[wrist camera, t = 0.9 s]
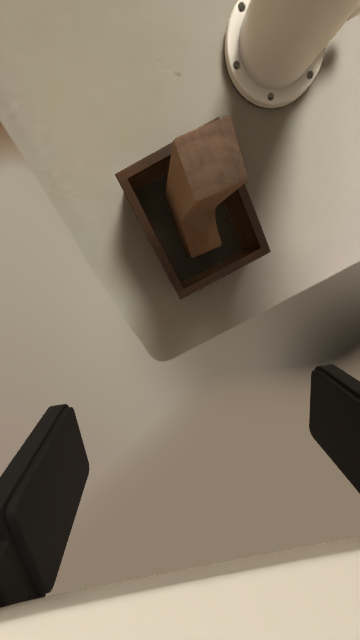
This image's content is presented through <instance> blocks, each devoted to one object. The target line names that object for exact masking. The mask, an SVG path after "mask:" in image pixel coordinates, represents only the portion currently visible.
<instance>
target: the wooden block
mask: <svg viewBox="0 0 360 640" xmlns="http://www.w3.org/2000/svg"><path fill="white" fill-rule="evenodd" d="M247 180H248V174H247V171H246V167H245V164H244V160H243V157H242V154H241V150H240V147H239V143H238V140H237V136H236V133H235V129H234V126H233V122H232V119H231V118H230V116H226V117H223V118H221V119H218V120H216V121H214V122H212V123H209V124H207V125H205V126H202V127H200V128H198V129H195V130H193V131H191V132H188V133H186V134H184V135H182V136H179V137H177V138H176V139H175V140H174V141H173V145H172V151H171V158H170V165H169V172H168V178H167V185H166V192H165V201H166V204H167V206H168V209H169V212H170V214H171V217H172V219H173V222H174V224H175V227H176V230H177V232H178V235H179V237H180V240H181V242H182V245H183V248H184V250H185V253H186V255H187V257H188V258H195V257H197V256H200V255H202V254H204V253H207V252H209V251H211V250H214V249H216V248H219V247H220V246H221V244H222V243H221V239H220V236H219V232H218V229H217V226H216V219H215V210H216V207H217V205H218V204H220V203H221V202H222V201H223V200H225V199H226V198H227V197H228V196H230V195H231V194H232V193H233V192H235V191H236V190H237V189H238V188H240V187H241V186H242V185H243V184H245V183H246V181H247Z"/></svg>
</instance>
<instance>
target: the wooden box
mask: <svg viewBox="0 0 360 640" xmlns="http://www.w3.org/2000/svg"><path fill="white" fill-rule="evenodd" d="M218 119H219V117H217V118H215V119H213V120H212V121H210V122H208V123H206V124H204V125H203V126H205V125H207V124H209V123H212V122H214V121H216V120H218ZM201 127H202V126H201ZM199 128H200V127H199ZM197 129H198V128H197ZM172 145H173V142H172V143H170V144H169V145H167V146H165V147H163V148H161V149H160V150H158V151H156V152H154V153H152V154H151V155H149V156H147V157H145V158H143V159H142V160H140V161H138V162H136V163H134V164H133V165H131V166H129V167H127V168H125V169H124V170H122V171H120V172H118V173H116V174H115V176H116V178H117V180H118V181H119V183H120V185H121V187H122V189H123V191H124V193H125V195H126V197H127V199H128V201H129V202H130V204H131V206H132V208H133V210H134V212H135V214H136V216H137V218H138V220H139V222H140V223H141V225H142V227H143V229H144V231H145V233H146V235H147V237H148V239H149V241H150V243H151V244H152V246H153V248H154V250H155V252H156V254H157V256H158V258H159V260H160V262H161V264H162V265H163V267H164V269H165V271H166V273H167V275H168V277H169V279H170V281H171V283H172V285H173V286H174V288H175V290H176V292H177V294H178V296H179V298H180V299H182V298H184V297H186V296H188V295H190V294H192V293H194V292H195V291H197V290H199V289H201V288H203V287H205V286H207V285H209V284H211V283H212V282H214V281H216V280H218V279H220V278H222V277H224V276H226V275H228V274H230V273H231V272H233V271H235V270H237V269H239V268H241V267H243V266H245V265H247V264H248V263H250V262H252V261H254V260H256V259H258V258H260V257H262V256H264V255H266V254H267V253H269V252H271V251H270V249H269V246H268V243H267V241H266V238H265V236H264V233H263V230H262V228H261V225H260V223H259V220H258V217H257V215H256V212H255V210H254V207H253V204H252V202H251V199H250V197H249V194H248V191H247V189H246V186H245V184H243V185H242V186H241V187H240V188H238V189H237V190H236V191H235V192H233V193H232V194H231V195H230V196H228V197H227V198H226V199H225V200H223V202H224V204H225V207H226V209H227V211H228V214H229V216H230V219H231V221H232V223H233V226H234V228H235V231H236V233H237V235H238V238H239V240H240V243H241V245H242V247H243V250H242V251H240V252H238V253H236V254H234V255H232V256H230V257H228V258H226V259H225V260H223V261H221V262H219V263H217V264H215V265H213V266H211V267H210V268H208V269H206V270H204V271H202V272H200V273H198V274H196V275H194V276H193V277H191V278H189V279H187V280H185V281H183V282H181V283H180V281H179V279H178V277H177V275H176V273H175V271H174V269H173V267H172V265H171V263H170V261H169V259H168V257H167V255H166V253H165V251H164V249H163V247H162V245H161V244H160V242H159V240H158V238H157V236H156V234H155V232H154V230H153V228H152V226H151V224H150V222H149V220H148V218H147V216H146V214H145V212H144V210H143V208H142V206H141V205H140V203H139V201H138V199H137V197H136V195H135V193H134V192H135V191H137V190H139V189H140V188H142V187H144V186H146V185H148V184H149V183H151V182H153V181H155V180H157V179H159V178H160V177H162V176H164V175H166V174H168V172H169V165H170V158H171V151H172Z"/></svg>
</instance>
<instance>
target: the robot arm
mask: <svg viewBox="0 0 360 640" xmlns="http://www.w3.org/2000/svg"><path fill="white" fill-rule="evenodd" d="M359 14H360V0H238V1H237V2H236V4H235V6H234V8H233V11H232V13H231V16H230V19H229V22H228V26H227V29H226V35H225V60H226V66H227V69H228V72H229V75H230V78H231V80H232V82H233V84H234V86H235V87H236V88H237V90H238V91H239V92H240V94H241V95H242V96H243V97H245V98H246V99H247V100H248V101H250V102H251V103H253V104H255V105H257V106H260V107H264V108H278V107H283V106H285V105H287V104H290V103H292V102H293V101H294V100H296V99H297V98H299V97H300V96H301V95H302V94H303V93H304V92H305V91H306V89H307V88H308V87H309V86H310V85H311V83H312V82H313V80H314V79H315V77H316V75H317V74H318V72H319V69H320V67H321V64H322V61H323V57H324V53H325V47H326V45H327V44H328V43H329V42H330V40H331V39H332V38H333V37H334V36H335V34H336V33H337V32H338V31H339V29H340V28H341V27H342V26H343V24H344V23H345V22H346V21H348V20H350V19H351V18H353V17H355V16H357V15H359ZM234 68H235V69H234ZM268 99H269V100H268ZM309 421H310V423H309V428H310V432H311V435H312V436H313V438H314V439H315V440H316V441H317V443H318V444H319V445H320V446H321V447H322V449H323V450H324V451H325V452H326V453H327V455H328V456H329V457H330V458H331V459H332V460H333V462H334V463H335V464H336V465H337V467H338V468H339V469H340V470H341V471H342V473H343V474H344V475H345V476H346V478H347V479H348V480H349V481H350V482H351V484H352V485H353V486H354V487H355V488H356V489H357V491H358V492H359V493H360V381H358V380H356V379H355V378H353V377H352V376H350V375H349V374H347V373H346V372H344V371H343V370H341V369H340V368H338V367H336V366H335V365H333V364H329V365H323V366H317V367H316V368H315V370H314V371H312V374H311V395H310V420H309ZM88 474H89V462H88V459H87V455H86V451H85V448H84V444H83V441H82V437H81V434H80V430H79V426H78V423H77V419H76V416H75V412H74V409H73V408H72V407H69V406H68V405H67V404H63V405H56V406H51V407H49V408H48V409H47V411H46V412H45V414H44V415H43V417H42V418H41V419H40V421H39V422H38V424H37V425H36V427H35V428H34V429H33V431H32V432H31V434H30V435H29V437H28V438H27V439H26V441H25V443H24V444H23V445H22V447H21V448H20V450H19V451H18V452H17V454H16V455H15V457H14V458H13V460H12V461H11V462H10V464H9V465H8V467H7V468H6V470H5V471H4V473H3V474H2V475H1V477H0V640H360V536H358V537H353V538H347V539H341V540H336V541H330V542H325V543H319V544H314V545H308V546H303V547H298V548H292V549H287V550H282V551H276V552H271V553H266V554H260V555H255V556H250V557H244V558H239V559H234V560H229V561H223V562H218V563H213V564H208V565H202V566H197V567H192V568H186V569H181V570H176V571H171V572H166V573H161V574H156V575H151V576H145V577H140V578H136V579H131V580H125V581H120V582H115V583H110V584H105V585H100V586H94V587H89V588H85V589H80V590H75V591H71V592H66V593H62V594H57V595H52V596H48V597H45V595H46V593H49V592H50V591H51V590H52V588H53V586H54V583H55V580H56V577H57V573H58V570H59V567H60V564H61V561H62V557H63V554H64V551H65V548H66V544H67V541H68V538H69V535H70V532H71V528H72V525H73V522H74V519H75V516H76V512H77V509H78V506H79V503H80V500H81V496H82V493H83V490H84V487H85V483H86V480H87V477H88Z"/></svg>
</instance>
